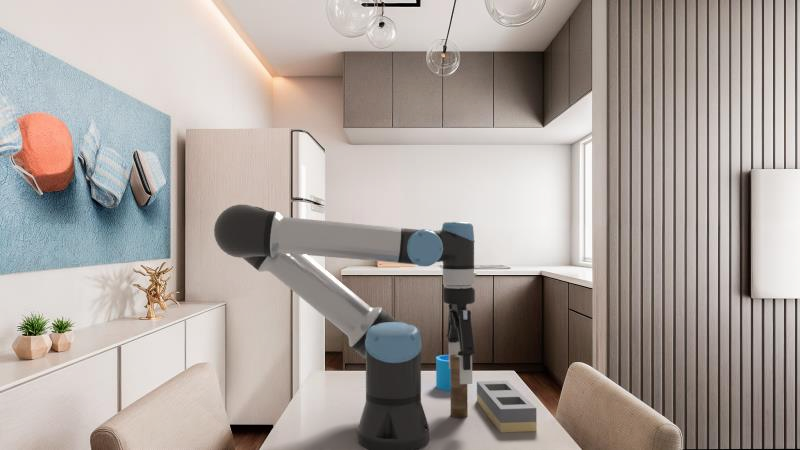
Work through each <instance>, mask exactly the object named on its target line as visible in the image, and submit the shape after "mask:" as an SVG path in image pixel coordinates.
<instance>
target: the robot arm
mask: <svg viewBox="0 0 800 450" xmlns="http://www.w3.org/2000/svg"><path fill="white" fill-rule="evenodd" d="M213 228H214V229H213V232H214V233H213V234H214V239H215V242H216V244H217V246H218V247H219V248H220V249H221V250H222V252H224V253H225V254H227V255H229V256H230V257H234V258H240V259H241V258H242V260H244V261H246V262H247V263H248V264H250V266H252V267H253V268H254V269H256V271H258V272H259V273H260V272H270V274H272V275H273V276H274V277H276V278H277V279H278V280H279V281H281V283H283V284H284V285H285V286H287V287H288V288H289V289H290V290H291V291H292V292H294V293H295V295H298V296H299V298H301V299H302V300H303V301H305V303H307V304H308V305H310V306H311V307H312V308H313V309H314V310H316V311H317V312H318V313H319V314H321V315H322V316H323V317H324V318H325V319H326V320H327V321H329V322H330V323H331V324H333V326H335V327H336V328H338V329H339V330H340V331H341V332H342V333H343V334H345V335H346V336H347V338H348V344H349V347H350V348H352V349H353V350H354V351H355V353H357V354H358V355H359V356H361V357H362V358H363V359H365V404H364V407H363V410H362V413H361V416H360V421H359V424H358V427H357V442H358V444H360V446H362V447H364V448H366V449H368V450H417V449H420V448H423V447H424V446H425V445H427V444H428V443H429V441H430V426H429V423H428V420H427V416H426V413H425V409H424V406H423V404H422V353H421V352H422V347H423V346H422V345H423V343H422V340H421V339H422V338H421V333H420V330H419V328H418V327H417V326H415V325H413V324H408V323H406V322H402V321H401V320H398V319H395V317H393V316H392V315H391V313H388V312H387V311H386V310H385V309H384V308H382V307H381V306H377V307H376V306H375V307H372V306H370V305H369V304H368V303H366V302H365V301H364V300H363V299H362V298H361V297H360V296H358V295H357V294H355V293H354V292H353V291H352V290H351V289H350V288H348V287H347V286H346V285H345V284H343V283H342V282H341V281H340V280H339V279H338V278H336V277H335V276H334V275H333V274H331V273H330V272H329V271H328V270H326V269H325V268H324V267H323V266H322V265H320V264H319V263H318V262H317V261H316V260H314V259H313V258H312V257H311V256H315V257H324V258H325V257H328V258H337V259H339V258H340V259H350V260H360V261H372V262H373V261H374V262H383V263H384V262H385V263H394V264H395V263H396V264H403V265H415V266H416V265H417V266H418V267H430V266H432V265H434V264H436V263H440V262H442V285H443V286H445V287H443V289H442V295H443V297H442V301H443V303H445V304H447V305H448V321H447V329H446V330H447V331H446V337H447V341H448V355H449V369H450V356H451V355H455V354H458V356H460V384H467V385H473V355H474V354H475V351H476V350H475V345H474V337H473V336H474V335H473V328H472V318H471V317H472V316H471V315H472V312H471V310H470V309H468V308H467V305H472V304H475V302H476V295H475V294H476V289H475V287H474V285H475V277H476V276H477V274H478V273H477V272H475V235H474V234H475V231H474V226H473V223H471V222H469V221H467V222H466V221H455V222H454V221H453V222H452V221H450V222H449V221H448V222H443V224H442V228H441V229H438V230H431V229H425V228H424V229H415V228H406V227H405V228H403V227H402V228H401V227H394V226H383V225H382V226H381V225H372V224H362V223H352V222H350V223H349V222H341V221H340V222H339V221H330V220H329V221H328V220H321V219H320V220H319V219H308V218H298V217H290V216H289V217H286V216H283V215H282V214H281V213H280V212H279V211H275V210H274V211H273V210H266V209H264V208H263V207H259V206H254V205H253V206H252V205H249V204H235V205H232V206H229V207H227V208H226V209H225V210H223V211H222V212H221V213H220V214H219V215H218V217H217V219H216V221H215V223H214V227H213Z"/></svg>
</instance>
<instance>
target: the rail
mask: <svg viewBox="0 0 800 450" xmlns="http://www.w3.org/2000/svg"><path fill="white" fill-rule="evenodd" d="M476 402H477V403H478V404H479V407H481V408H482V410H483V411H484V413H486V415H487V417H488V418H489V419H490V420H491V422H492V423H493V424H494V426H495V427H496V429H497V430H498V431H499V432H500V433H513V432H514V433H516V432H517V433H518V432H519V433H520V432H524V433H525V432H537V431H538V430H537V407H536V406H535V405H534V404H533V403H532V402H530V400H528V398H527V397H525V396H524V395H523V394H522V393H521V392H520V391H519V390H518V389H517V388H516V387H515V386H514V385H512V384H511V383H510V382H509V381H508V380H487V381H486V380H485V381H484V380H483V381H482V380H481V381H478V380H477V381H476Z"/></svg>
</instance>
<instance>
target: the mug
mask: <svg viewBox="0 0 800 450" xmlns="http://www.w3.org/2000/svg"><path fill="white" fill-rule="evenodd" d="M435 359H436V361H435V363H436V364H435V366H436V367H435V370H436V371H435V377H436V379H435V381H436V382H435V388H437V389H438V390H441V391H447V392H451V371H450V369H449V354H442V355H437V356H436V357H435Z"/></svg>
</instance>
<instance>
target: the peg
mask: <svg viewBox="0 0 800 450" xmlns="http://www.w3.org/2000/svg"><path fill="white" fill-rule="evenodd" d="M450 371H451V391H450V417H452V418H456V419H465V418H467V417H468V414H469V413H468V410H469V409H468V384H460V356H458V354H455V355H451V356H450Z"/></svg>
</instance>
